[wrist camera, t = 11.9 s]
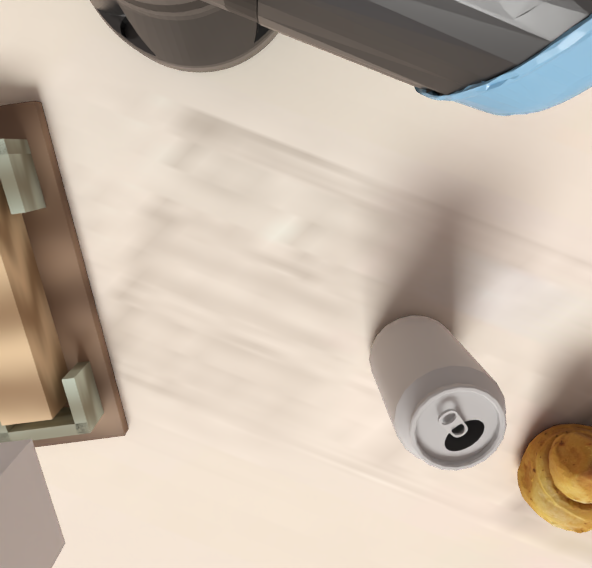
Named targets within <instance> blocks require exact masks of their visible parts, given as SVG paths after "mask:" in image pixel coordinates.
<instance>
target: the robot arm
mask: <svg viewBox="0 0 592 568" xmlns="http://www.w3.org/2000/svg"><path fill="white" fill-rule="evenodd" d="M90 1H91V3H92V4H93V6H94V7H95V9H96V10H97V12H98V13H99V15H100V16H101V17H102V19H103V20H104V21H105V22H106V24H107V25H108V26H109V27H110V28H111V29H112V30H113V31H114V32H115V33H116V34H117V35H118V36H119V37H120V38H121V39H122V40H123V41H125V42H126V43H127V44H129V45H130V46H131V47H133V48H134V49H136V50H137V51H139V52H140V53H142V54H143V55H144V56H146V57H148V58H150V59H151V60H153V61H155V62H157V63H159V64H162V65H164V66H167V67H170V68H173V69H177V70H182V71H188V72H213V71H219V70H223V69H227V68H230V67H233V66H236V65H238V64H240V63H242V62H244V61H246V60H248V59H250V58H251V57H253V56H254V55H256V54H257V53H258V52H260V51H261V50H262V49H263V48H264V47H266V46H267V45H268V44H269V43H270V42H271V41H272V40H273V38H274V37H275V36H276V35H277V34H278V32H279V33H281V34H284V35H286V36H289V37H291V38H294V39H297V40H299V41H302V42H304V43H307V44H309V45H312V46H314V47H317V48H319V49H322V50H324V51H327V52H329V53H332V54H334V55H337V56H339V57H342V58H344V59H347V60H349V61H352V62H354V63H357V64H359V65H362V66H364V67H367V68H370V69H372V70H375V71H377V72H380V73H382V74H385V75H387V76H390V77H392V78H395V79H397V80H400V81H402V82H405V83H407V84H410V85H412V86H414V87H415V89H416V91H417V92H418V93H420V94H422V95H424V96H426V97H428V98H431V99H434V100H448V101H455V102H458V103H461V104H464V105H466V106H469V107H472V108H475V109H478V110H481V111H484V112H487V113H491V114H495V115H502V116H508V115H514V114H528V113H534V112H539V111H542V110H545V109H548V108H550V107H553V106H556V105H558V104H561V103H563V102H565V101H567V100H569V99H571V98H573V97H575V96H577V95H578V94H580V93H582V92H584V91H585V90H587V89H589V88H590V87H592V0H90ZM64 544H65V541H64V537H63V534H62V531H61V528H60V525H59V522H58V519H57V516H56V513H55V509H54V506H53V503H52V500H51V497H50V494H49V491H48V488H47V485H46V481H45V478H44V475H43V472H42V469H41V466H40V463H39V460H38V457H37V453H36V450H35V447H34V444H33V441H32V439H28V440H19V441H11V442H3V443H0V568H52V566H53V564H54V563H55V561H56V559H57V557H58V555H59V554H60V552H61V550H62V548H63V546H64Z"/></svg>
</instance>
